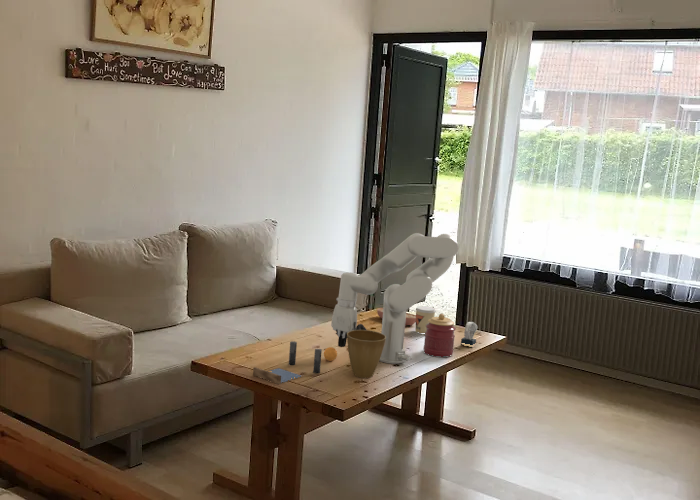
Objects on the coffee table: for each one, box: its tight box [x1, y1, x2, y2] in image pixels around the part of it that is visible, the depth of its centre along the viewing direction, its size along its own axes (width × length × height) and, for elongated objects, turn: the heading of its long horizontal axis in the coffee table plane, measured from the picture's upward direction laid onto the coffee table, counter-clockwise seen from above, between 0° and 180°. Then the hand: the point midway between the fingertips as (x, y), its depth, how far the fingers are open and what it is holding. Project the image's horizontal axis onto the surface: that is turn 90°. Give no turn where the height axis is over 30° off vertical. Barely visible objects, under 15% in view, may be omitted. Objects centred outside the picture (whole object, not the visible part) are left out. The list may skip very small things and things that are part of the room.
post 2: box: [312, 348, 323, 374], centre depth 291 cm, size 3×3×9 cm
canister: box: [423, 313, 456, 358], centre depth 330 cm, size 13×13×18 cm
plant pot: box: [346, 329, 386, 379], centre depth 291 cm, size 15×15×16 cm
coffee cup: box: [415, 305, 436, 333], centre depth 364 cm, size 9×9×12 cm
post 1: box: [288, 340, 298, 366], centre depth 298 cm, size 3×3×9 cm
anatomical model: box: [376, 307, 416, 326], centre depth 381 cm, size 23×10×5 cm, turn 49°
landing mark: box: [270, 367, 302, 384], centre depth 284 cm, size 12×12×1 cm
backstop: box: [252, 366, 282, 385], centre depth 278 cm, size 13×1×3 cm, turn 53°
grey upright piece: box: [460, 321, 478, 345], centre depth 347 cm, size 6×8×11 cm
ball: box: [323, 346, 338, 362], centre depth 307 cm, size 6×6×6 cm
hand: (341, 346), depth 314 cm, fingers closed
